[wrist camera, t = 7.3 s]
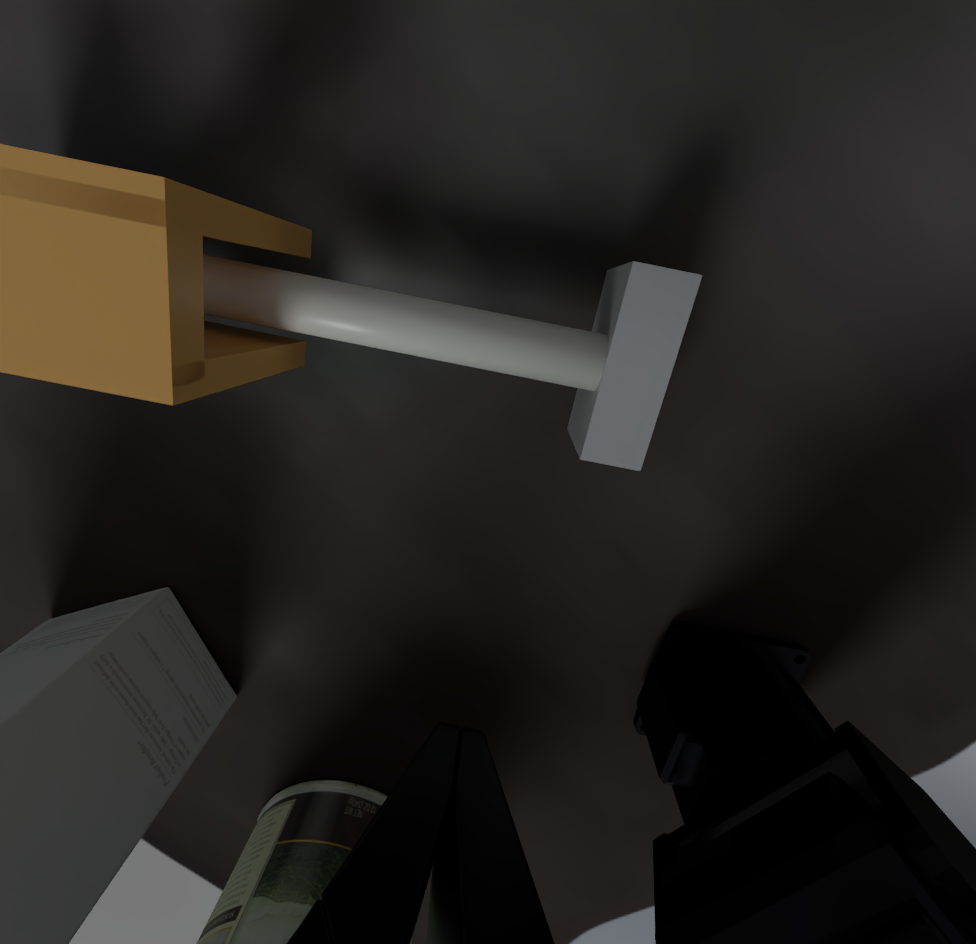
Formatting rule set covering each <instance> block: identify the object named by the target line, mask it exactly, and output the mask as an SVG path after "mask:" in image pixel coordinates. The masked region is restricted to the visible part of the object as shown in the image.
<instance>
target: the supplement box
mask: <svg viewBox="0 0 976 944" xmlns="http://www.w3.org/2000/svg"><path fill="white" fill-rule="evenodd" d="M236 698H237V696H236V694H235V692H234V691H233V689H232V688H231V686H230V684H229V683H228V681H227V680H226V678H225V677H224V675H223V673H222V672H221V670H220V669H219V667H218V665H217V664H216V662H215V660H214V659H213V657H212V656H211V654H210V652H209V651H208V649H207V648H206V646H205V644H204V643H203V641H202V640H201V638H200V637H199V635H198V633H197V632H196V630H195V628H194V627H193V625H192V623H191V622H190V620H189V619H188V617H187V615H186V614H185V612H184V610H183V609H182V607H181V606H180V604H179V603H178V601H177V599H176V598H175V596H174V594H173V593H172V591H171V590H170V588H169V587H165V588H161V589H157V590H154V591H150V592H146V593H142V594H139V595H135V596H132V597H128V598H124V599H120V600H117V601H113V602H109V603H106V604H102V605H98V606H95V607H91V608H88V609H84V610H80V611H77V612H73V613H69V614H66V615H62V616H59V617H56V618H52V619H49V620H47V621H46V622H44V623H43V624H41V625H40V626H38V627H37V628H35V629H34V630H33V631H31V632H30V633H28V634H27V635H26V636H24V637H23V638H21V639H20V640H18V641H17V642H16V643H14V644H13V645H11V646H10V647H9V648H7V649H6V650H4V651H3V652H1V653H0V944H69V942H70V941H71V939H72V938H73V936H74V935H75V933H76V932H77V930H78V929H79V928H80V926H81V925H82V923H83V922H84V920H85V919H86V917H87V916H88V914H89V913H90V912H91V910H92V909H93V907H94V906H95V904H96V903H97V901H98V900H99V898H100V897H101V895H102V894H103V893H104V891H105V890H106V888H107V886H108V885H109V884H110V882H111V881H112V879H113V878H114V876H115V875H116V874H117V872H118V871H119V869H120V868H121V866H122V865H123V863H124V862H125V860H126V859H127V858H128V856H129V855H130V854H131V852H132V850H133V849H134V848H135V846H136V845H137V843H138V842H139V840H140V839H141V837H142V836H143V834H144V833H145V832H146V830H147V829H148V827H149V826H150V824H151V823H152V821H153V820H154V818H155V817H156V816H157V814H158V813H159V811H160V810H161V808H162V807H163V805H164V804H165V802H166V801H167V800H168V798H169V797H170V795H171V794H172V792H173V791H174V789H175V788H176V786H177V785H178V783H179V782H180V780H181V779H182V778H183V776H184V775H185V773H186V772H187V770H188V769H189V767H190V766H191V764H192V763H193V762H194V760H195V759H196V757H197V756H198V754H199V753H200V751H201V750H202V749H203V747H204V745H205V744H206V742H207V741H208V739H209V738H210V736H211V735H212V733H213V732H214V730H215V729H216V727H217V726H218V725H219V723H220V722H221V720H222V719H223V717H224V716H225V714H226V713H227V711H228V710H229V708H230V707H231V705H232V704H233V702H234V701H235V700H236Z"/></svg>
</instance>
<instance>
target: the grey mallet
mask: <svg viewBox="0 0 976 944" xmlns="http://www.w3.org/2000/svg"><path fill="white" fill-rule="evenodd" d="M701 278H702V275H699V274H694V273H689V272H685V271H680V270H675V269H670V268H665V267H660V266H655V265H650V264H645V263H640V262H635V261H632V262H629V263H626V264H624V265H621V266H618V267H615V268H612V269H609V270H607V273H606V277H605V281H604V285H603V289H602V293H601V297H600V301H599V305H598V309H597V313H596V317H595V321H594V325H593V329H592V332H590V331H585V330H580V329H575V328H570V327H565V326H560V325H555V324H550V323H545V322H540V321H535V320H530V319H525V318H520V317H515V316H510V315H505V314H500V313H495V312H490V311H485V310H480V309H475V308H470V307H465V306H460V305H455V304H450V303H445V302H440V301H435V300H430V299H425V298H420V297H415V296H410V295H405V294H400V293H395V292H390V291H385V290H380V289H375V288H370V287H365V286H360V285H355V284H350V283H345V282H340V281H335V280H330V279H325V278H320V277H315V276H310V275H305V274H300V273H295V272H290V271H285V270H280V269H275V268H270V267H265V266H260V265H255V264H250V263H245V262H240V261H235V260H230V259H225V258H220V257H215V256H210V255H205V254H203V292H204V314H207V315H212V316H217V317H222V318H227V319H232V320H237V321H242V322H247V323H252V324H257V325H262V326H267V327H272V328H278V329H283V330H288V331H293V332H298V333H303V334H308V335H313V336H318V337H323V338H328V339H333V340H338V341H343V342H348V343H353V344H358V345H363V346H368V347H373V348H378V349H384V350H389V351H394V352H399V353H404V354H409V355H414V356H419V357H424V358H429V359H434V360H439V361H444V362H449V363H454V364H459V365H464V366H469V367H474V368H479V369H485V370H490V371H495V372H500V373H505V374H510V375H515V376H520V377H525V378H530V379H535V380H540V381H545V382H550V383H555V384H560V385H565V386H570V387H575V388H577V392H576V396H575V400H574V404H573V408H572V412H571V416H570V420H569V424H568V428H567V429H568V432H569V434H570V436H571V439H572V441H573V444H574V446H575V448H576V451H577V453H578V455H579V458H580V459H581V460H586V461H591V462H596V463H601V464H606V465H611V466H616V467H622V468H627V469H632V470H637V471H641V468H642V465H643V461H644V458H645V455H646V452H647V449H648V446H649V442H650V439H651V436H652V433H653V430H654V427H655V424H656V420H657V417H658V414H659V411H660V408H661V405H662V401H663V398H664V395H665V392H666V389H667V386H668V382H669V379H670V376H671V373H672V370H673V367H674V364H675V360H676V357H677V354H678V351H679V348H680V345H681V341H682V338H683V335H684V332H685V329H686V326H687V322H688V319H689V316H690V313H691V310H692V307H693V304H694V300H695V297H696V294H697V291H698V288H699V285H700V281H701Z"/></svg>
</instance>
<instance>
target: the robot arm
mask: <svg viewBox="0 0 976 944" xmlns="http://www.w3.org/2000/svg"><path fill="white" fill-rule="evenodd" d="M680 632H684V634H683V635H681V636H677V634H678V633H680ZM798 655H800V656H799V657H797V658H795V657H796V656H798ZM811 659H812V657H811V654H810V653H809V652H808V651H807V650H806V649H805V648H804V646H801V645H798V644H793V643H787V642H782V641H777V640H772V639H766V638H761V637H756V636H751V635H746V634H740V633H735V632H730V631H725V630H719V629H714V628H709V627H704V626H698V625H693V624H688V623H683V622H677V623H674V624H673V625H671V626H670V627H669V629H668V631H667V634H666V636H665V639H664V642H663V644H662V647H661V649H660V652H659V655H658V657H657V660H656V661H654V662H653V663H652V664H651V666H650V669H649V671H648V674H647V677H646V679H645V682H644V685H643V687H642V690H641V692H640V695H639V698H638V700H637V706H638V709H637V712H636V714H635V717H634V721H633V722H634V726H635V729H636V731H637V732H638V733H639V734H641V735H645V736H647V739H648V742H649V746H650V749H651V752H652V755H653V759H654V762H655V765H656V769H657V772H658V775H659V777H660V779H661V780H662V782H663V783H665V784H670V785H672V788H673V791H674V794H675V797H676V800H677V803H678V806H679V809H680V812H681V815H682V818H683V822H684V825H683V826H681V827H679V828H678V829H676V830H675V831H673V832H671V833H670V834H668V835H667V834H666V833H664V834H662V835H661V836H659V837H657V838H656V839H654V840H653V863H654V900H655V940H656V944H976V849H975V848H974V846H973V845H972V844H971V843H970V842H969V841H968V840H967V839H966V837H965V836H964V835H963V834H962V833H961V832H960V831H959V829H958V828H957V827H956V826H955V825H954V824H953V822H952V821H951V820H950V819H949V818H948V817H947V816H946V815H945V813H944V812H943V811H942V810H941V809H940V808H939V807H938V805H937V804H936V803H935V802H934V801H933V800H932V799H931V798H930V796H929V795H928V794H927V793H926V792H925V791H924V790H923V789H922V788H921V787H920V786H919V785H918V784H917V783H915V782H914V781H913V780H912V779H911V778H910V777H909V776H908V775H907V774H906V773H905V772H904V771H903V770H901V769H900V768H899V767H898V766H897V765H896V764H895V763H894V762H893V761H892V760H891V759H889V758H888V757H887V756H886V755H885V754H884V753H883V752H882V751H881V750H880V749H879V748H877V747H876V746H875V745H874V744H873V743H872V742H871V741H870V740H869V739H868V738H867V737H865V736H864V735H863V734H862V733H861V732H860V731H859V730H858V729H857V728H856V727H855V726H853V725H852V724H851V723H850V722H849V721H847V722H845V723H843V724H842V725H840V726H838V727H837V728H835V731H836V732H834V731H833V729H832V728H831V727H830V725H829V724H828V723H827V721H826V720H825V719H824V717H823V716H822V715H821V713H820V712H819V710H818V709H817V708H816V706H815V705H814V704H813V702H812V701H811V700H810V698H809V697H808V696H807V694H806V693H805V692H804V690H803V689H802V688H801V686H800V685H799V683H800V681H801V679H802V678H803V676H804V674H805V672H806V670H807V668H808V666H809V664H810V662H811ZM642 724H643V725H642ZM432 866H433V869H432ZM431 869H432V879H431V889H430V901H429V914H428V927H427V939H426V944H554V941H553V938H552V935H551V932H550V929H549V926H548V923H547V920H546V917H545V914H544V911H543V908H542V905H541V902H540V899H539V896H538V893H537V890H536V887H535V884H534V881H533V878H532V875H531V872H530V869H529V866H528V863H527V860H526V857H525V854H524V851H523V848H522V845H521V842H520V839H519V836H518V833H517V830H516V827H515V824H514V821H513V818H512V815H511V812H510V809H509V806H508V803H507V800H506V797H505V795H504V792H503V789H502V786H501V783H500V780H499V777H498V774H497V771H496V768H495V765H494V762H493V759H492V756H491V753H490V750H489V747H488V744H487V741H486V738H485V735H484V733H483V732H482V731H479V730H475V729H471V728H466V727H464V728H462V729H461V730H460V727H459V726H457V725H453V724H449V723H445V722H439V723H438V724H437V725H436V726H435V728H434V729H433V731H432V732H431V734H430V735H429V737H428V738H427V740H426V741H425V743H424V744H423V746H422V747H421V748H420V750H419V751H418V753H417V754H416V756H415V757H414V759H413V760H412V762H411V763H410V765H409V766H408V768H407V769H406V770H405V772H404V773H403V775H402V776H401V778H400V779H399V781H398V782H397V784H396V785H395V787H394V788H393V790H392V791H391V792H390V794H389V795H388V797H387V798H386V800H385V801H384V803H383V804H382V806H381V807H380V809H379V810H378V812H377V813H376V814H375V816H374V817H373V819H372V820H371V822H370V823H369V825H368V826H367V828H366V829H365V831H364V832H363V834H362V835H361V836H360V838H359V839H358V841H357V842H356V844H355V845H354V847H353V848H352V850H351V851H350V853H349V854H348V856H347V857H346V858H345V860H344V861H343V863H342V864H341V866H340V867H339V869H338V870H337V872H336V873H335V875H334V876H333V878H332V879H331V880H330V882H329V883H328V885H327V886H326V888H325V889H324V891H323V892H322V894H321V896H320V899H318V900H317V901H316V902H315V903H314V905H313V906H312V908H311V909H310V911H309V912H308V914H307V915H306V917H305V918H304V919H303V921H302V922H301V924H300V925H299V927H298V928H297V930H296V931H295V932H294V934H293V935H292V936H291V938H290V939H289V941H288V942H287V943H286V944H410V943H411V939H412V936H413V932H414V929H415V925H416V922H417V918H418V915H419V911H420V908H421V904H422V901H423V897H424V894H425V890H426V887H427V883H428V880H429V876H430V873H431Z"/></svg>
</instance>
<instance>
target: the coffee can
mask: <svg viewBox="0 0 976 944" xmlns="http://www.w3.org/2000/svg"><path fill="white" fill-rule="evenodd" d="M387 797H388V796H387V795H385V794H384V793H381V792H379V791H377V790H375V789H372V788H370V787H366V786H364V785H360V784H356V783H351V782H346V781H341V780H315V781H308V782H303V783H299V784H295V785H293V786H291V787H288V788H286V789H284V790H282V791H281V792H279V793H277V794H276V795H275V796H274V797H272V798H271V799H270V800H269V801H268V803H267V804H266V805H265V806H264V808H263V809H262V811H261V813H260V815H259V817H258V821H257V824H256V826H255V828H254V830H253V832H252V834H251V836H250V838H249V840H248V842H247V844H246V846H245V848H244V850H243V852H242V854H241V856H240V858H239V860H238V862H237V864H236V866H235V868H234V870H233V872H232V874H231V876H230V878H229V880H228V882H227V884H226V886H225V888H224V890H223V892H222V894H221V896H220V898H219V900H218V902H217V904H216V906H215V908H214V910H213V912H212V914H211V916H210V918H209V920H208V922H207V924H206V926H205V928H204V930H203V932H202V934H201V936H200V938H199V941H198V942H197V944H286V943H287V942H288V941H289V939H290V938H291V936H292V935H293V934H294V932H295V931H296V930H297V928H298V927H299V925H300V924H301V922H302V921H303V919H304V918H305V917H306V915H307V914H308V912H309V911H310V909H311V908H312V906H313V905H314V903H315V902H316V901H317V900H318V899H320V896H321V894H322V892H323V891H324V889H325V888H326V886H327V885H328V883H329V882H330V880H331V879H332V878H333V876H334V875H335V873H336V872H337V870H338V869H339V867H340V866H341V864H342V863H343V861H344V860H345V858H346V857H347V856H348V854H349V853H350V851H351V850H352V848H353V847H354V845H355V844H356V842H357V841H358V839H359V838H360V836H361V835H362V834H363V832H364V831H365V829H366V828H367V826H368V825H369V823H370V822H371V820H372V819H373V817H374V816H375V814H376V813H377V812H378V810H379V809H380V807H381V806H382V804H383V803H384V801H385V800H386V798H387ZM411 943H412V939H411ZM411 943H410V944H411Z"/></svg>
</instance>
